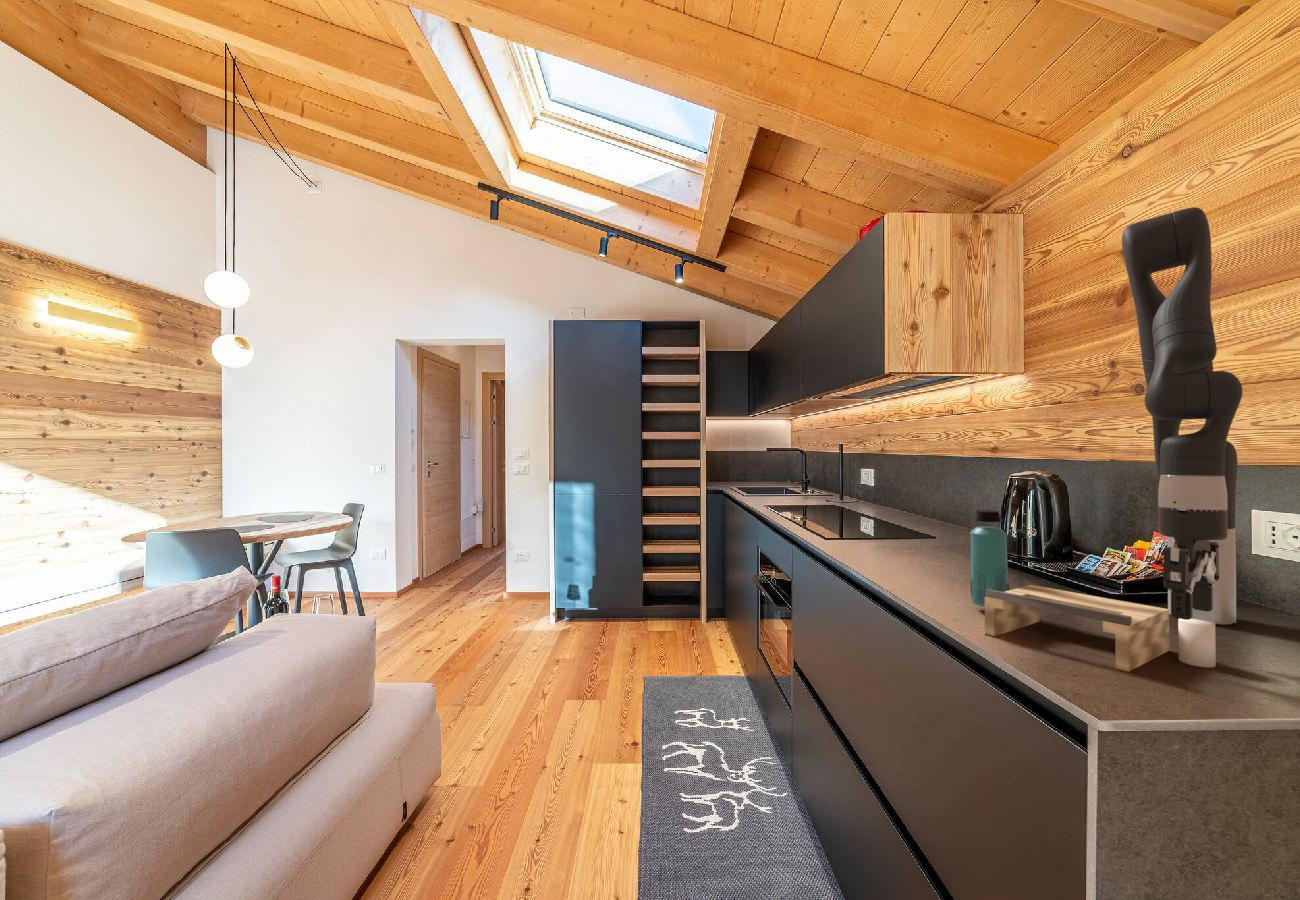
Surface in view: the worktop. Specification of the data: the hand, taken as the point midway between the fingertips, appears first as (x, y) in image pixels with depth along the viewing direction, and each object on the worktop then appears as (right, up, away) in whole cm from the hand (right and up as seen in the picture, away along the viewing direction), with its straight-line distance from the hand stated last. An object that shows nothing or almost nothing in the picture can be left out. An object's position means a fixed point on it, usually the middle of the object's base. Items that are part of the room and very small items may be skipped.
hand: (1192, 614), depth 85 cm
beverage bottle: (-14, -8, +27) cm, 32 cm away
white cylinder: (+1, -7, 0) cm, 7 cm away
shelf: (-11, -7, +9) cm, 16 cm away
